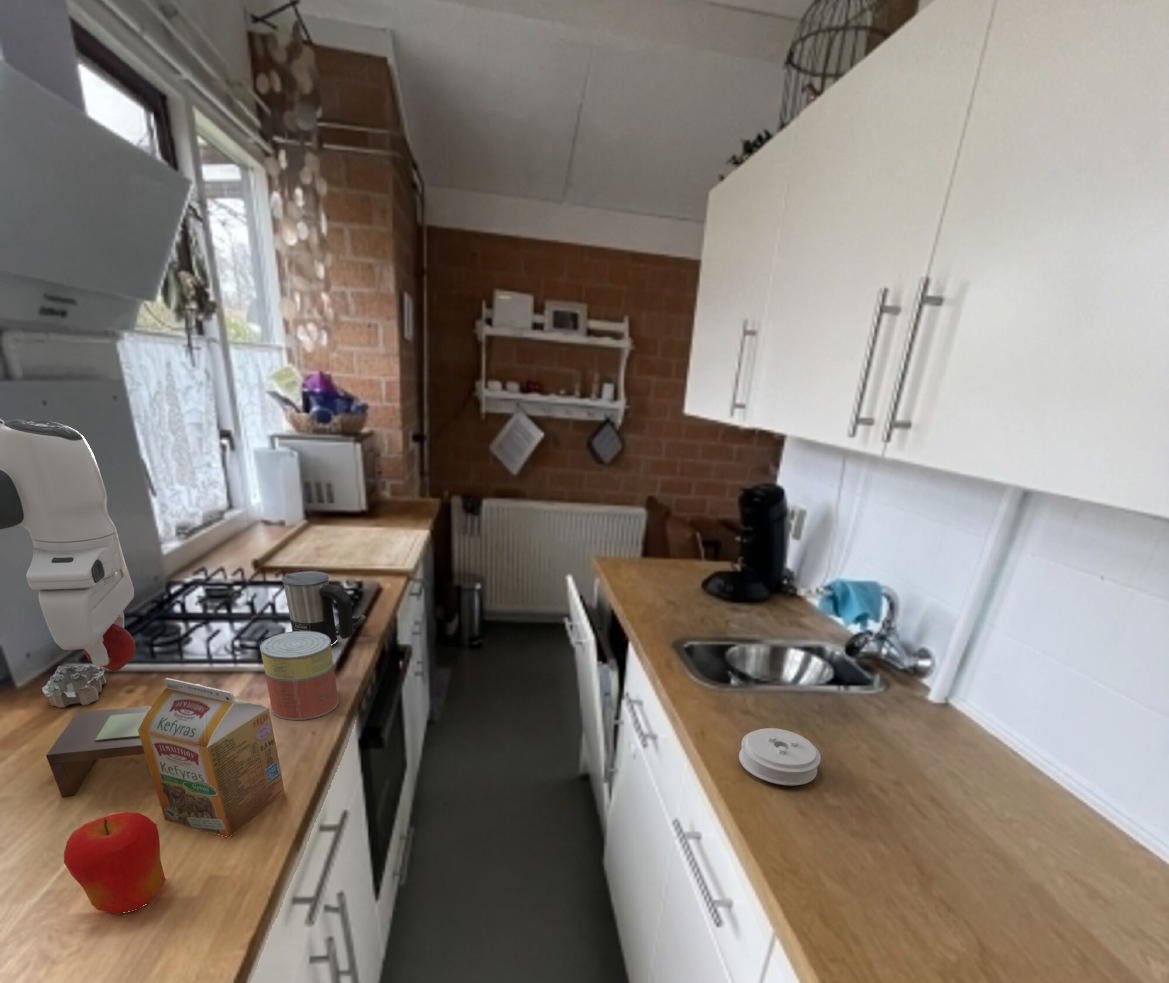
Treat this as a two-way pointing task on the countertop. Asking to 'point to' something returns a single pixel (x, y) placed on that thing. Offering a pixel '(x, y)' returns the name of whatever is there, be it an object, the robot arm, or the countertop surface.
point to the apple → (116, 861)
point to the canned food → (300, 674)
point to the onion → (117, 647)
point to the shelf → (94, 743)
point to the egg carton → (74, 685)
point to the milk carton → (210, 757)
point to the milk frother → (319, 605)
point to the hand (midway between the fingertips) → (111, 652)
